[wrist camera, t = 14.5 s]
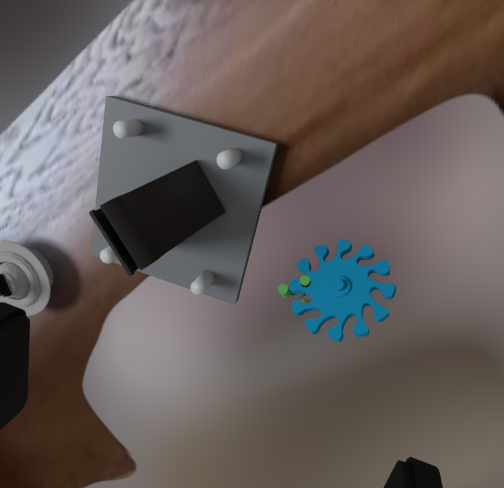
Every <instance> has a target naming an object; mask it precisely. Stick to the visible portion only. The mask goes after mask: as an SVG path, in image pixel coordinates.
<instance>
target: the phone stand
mask: <svg viewBox="0 0 504 488" xmlns="http://www.w3.org/2000/svg"><path fill="white" fill-rule="evenodd" d="M100 207H101V208H100V209H98V210H92V211H90V212H89V214H90V216H91V217H92V219H93V220H94V222H95V224H96V225H97V227H98V228H99V230H100V231H101V233H102V235H103V236H104V238H105V239H106V241H107V242H108V244H109V246H110V247H111V249H112V250H113V252H114V253H115V255H116V256H117V258H118V260H119V261H120V263H121V264H122V266H123V267H124V269H125V271H126V272H127V274H128V275H129V276H131V275H133V274H134V272H135V271H136V270H137V269H140V271H141V270H143V269H144V268H146V267H148V266H149V265H151V264H152V263H154V262H155V261H157V260H158V259H159V258H160V257H162V256H163V255H164V254H165V253H167V252H168V251H170V250H171V249H173V248H174V247H176V246H177V245H179V244H180V243H181V242H183V241H184V240H186V239H187V238H189V237H190V236H192V235H193V234H195V233H196V232H198V231H199V230H200V229H202V228H203V227H205V226H206V225H208V224H209V223H211V222H212V221H214V220H215V219H217V218H218V217H219V216H221V215H222V214H224V213H225V212H226V211H225V209H224V207H223V206H222V204H221V202H220V200H219V199H218V197H217V195H216V193H215V192H214V190H213V188H212V186H211V185H210V183H209V181H208V179H207V178H206V176H205V174H204V172H203V171H202V169H201V167H200V165H199V164H198V162H197V160H195V161H193V162H191V163H189V164H187V165H185V166H182V167H180V168H178V169H176V170H174V171H172V172H170V173H168V174H166V175H164V176H161V177H159V178H157V179H155V180H153V181H151V182H149V183H147V184H145V185H143V186H140V187H138V188H136V189H134V190H132V191H130V192H128V193H125V194H123V195H120V196H117V197H115V198H113V199H111V200H109V201H107V202H105V203H104V204H102V205H100Z"/></svg>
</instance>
